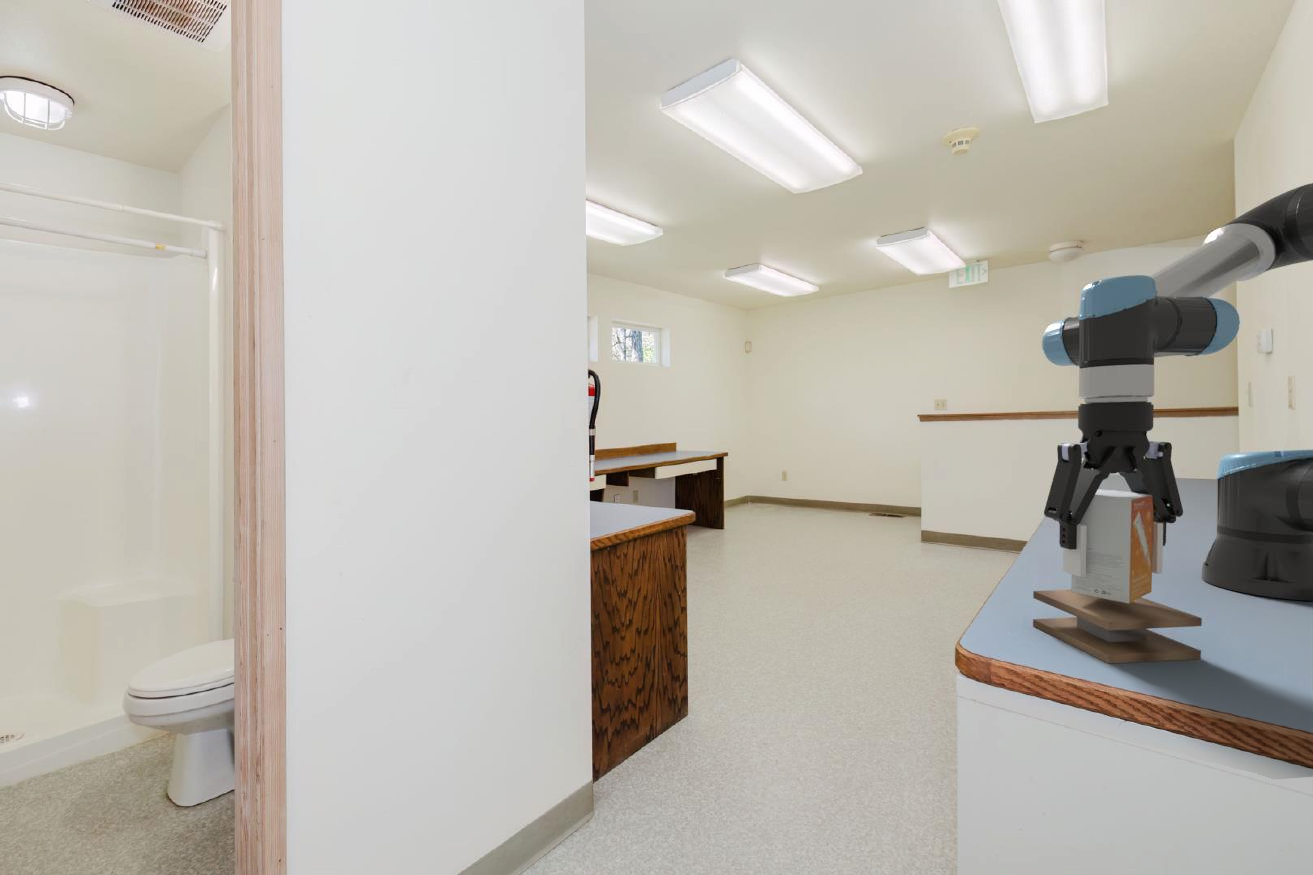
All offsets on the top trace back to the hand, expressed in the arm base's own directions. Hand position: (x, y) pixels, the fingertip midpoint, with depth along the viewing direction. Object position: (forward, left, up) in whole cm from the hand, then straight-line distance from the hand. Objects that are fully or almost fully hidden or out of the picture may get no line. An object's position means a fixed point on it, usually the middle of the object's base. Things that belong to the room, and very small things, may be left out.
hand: (1112, 572), depth 73 cm
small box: (0, 0, -3) cm, 3 cm away
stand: (0, 0, -9) cm, 9 cm away
